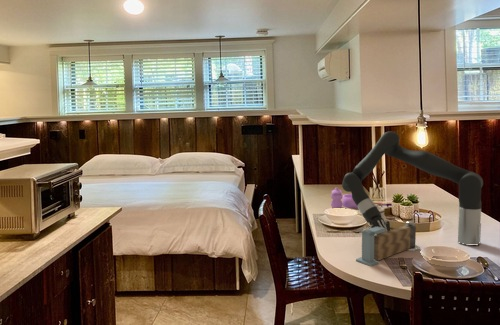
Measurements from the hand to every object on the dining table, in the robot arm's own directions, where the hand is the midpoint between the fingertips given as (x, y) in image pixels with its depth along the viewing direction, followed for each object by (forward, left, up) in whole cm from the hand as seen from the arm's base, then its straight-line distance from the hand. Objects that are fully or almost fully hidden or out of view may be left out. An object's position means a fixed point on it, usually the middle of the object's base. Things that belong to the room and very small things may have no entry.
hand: (390, 242), depth 199 cm
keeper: (+3, +14, -5) cm, 15 cm away
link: (-2, 0, -4) cm, 5 cm away
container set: (+49, -75, -5) cm, 90 cm away
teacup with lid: (+18, -39, -5) cm, 43 cm away
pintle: (-6, -11, -5) cm, 13 cm away
